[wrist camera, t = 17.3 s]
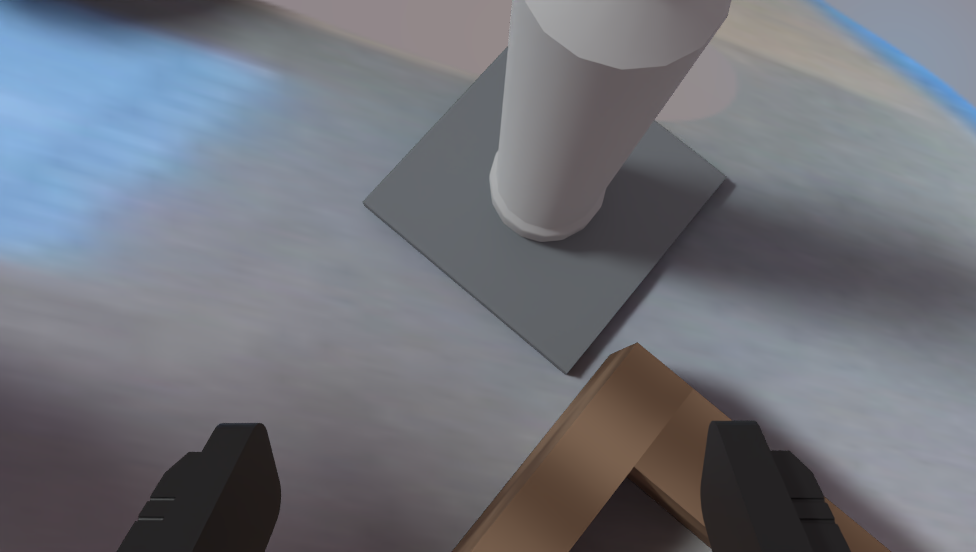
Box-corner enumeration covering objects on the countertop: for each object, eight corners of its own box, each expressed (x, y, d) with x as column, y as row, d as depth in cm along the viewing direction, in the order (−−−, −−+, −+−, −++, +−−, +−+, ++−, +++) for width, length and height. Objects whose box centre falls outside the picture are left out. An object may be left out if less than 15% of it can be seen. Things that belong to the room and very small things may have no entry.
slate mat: (565, 374, 32) (566, 373, 31) (364, 205, 33) (362, 201, 32) (721, 181, 34) (726, 176, 33) (528, 29, 35) (529, 22, 34)
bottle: (602, 145, 33) (1001, -626, 9) (596, 251, 32) (1032, -287, 8) (492, 134, 33) (587, -675, 9) (483, 241, 32) (562, -338, 8)
